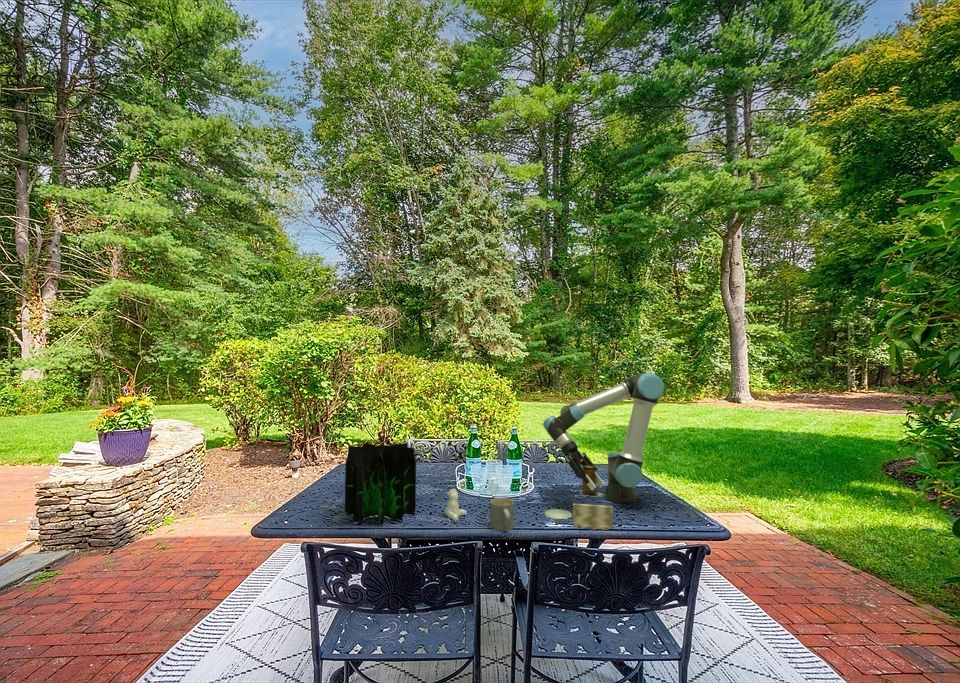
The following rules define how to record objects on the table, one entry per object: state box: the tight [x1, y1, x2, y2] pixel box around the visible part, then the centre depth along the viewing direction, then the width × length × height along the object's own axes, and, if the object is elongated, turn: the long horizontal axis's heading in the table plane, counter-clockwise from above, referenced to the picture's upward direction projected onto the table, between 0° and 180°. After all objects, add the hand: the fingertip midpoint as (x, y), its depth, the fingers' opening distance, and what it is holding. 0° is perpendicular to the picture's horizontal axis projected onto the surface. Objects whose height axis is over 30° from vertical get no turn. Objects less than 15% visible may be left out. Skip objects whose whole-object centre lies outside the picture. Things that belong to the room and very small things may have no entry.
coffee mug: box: [489, 497, 515, 532], centre depth 180 cm, size 13×10×10 cm
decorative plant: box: [344, 441, 417, 525], centre depth 196 cm, size 29×30×30 cm
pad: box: [544, 508, 573, 520], centre depth 195 cm, size 12×12×1 cm
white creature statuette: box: [444, 488, 467, 522], centre depth 193 cm, size 10×9×12 cm
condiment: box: [578, 465, 604, 498], centre depth 195 cm, size 7×8×12 cm
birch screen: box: [572, 503, 614, 531], centre depth 181 cm, size 16×4×9 cm, turn 78°
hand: (598, 487), depth 192 cm, fingers closed on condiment, 6 cm apart
